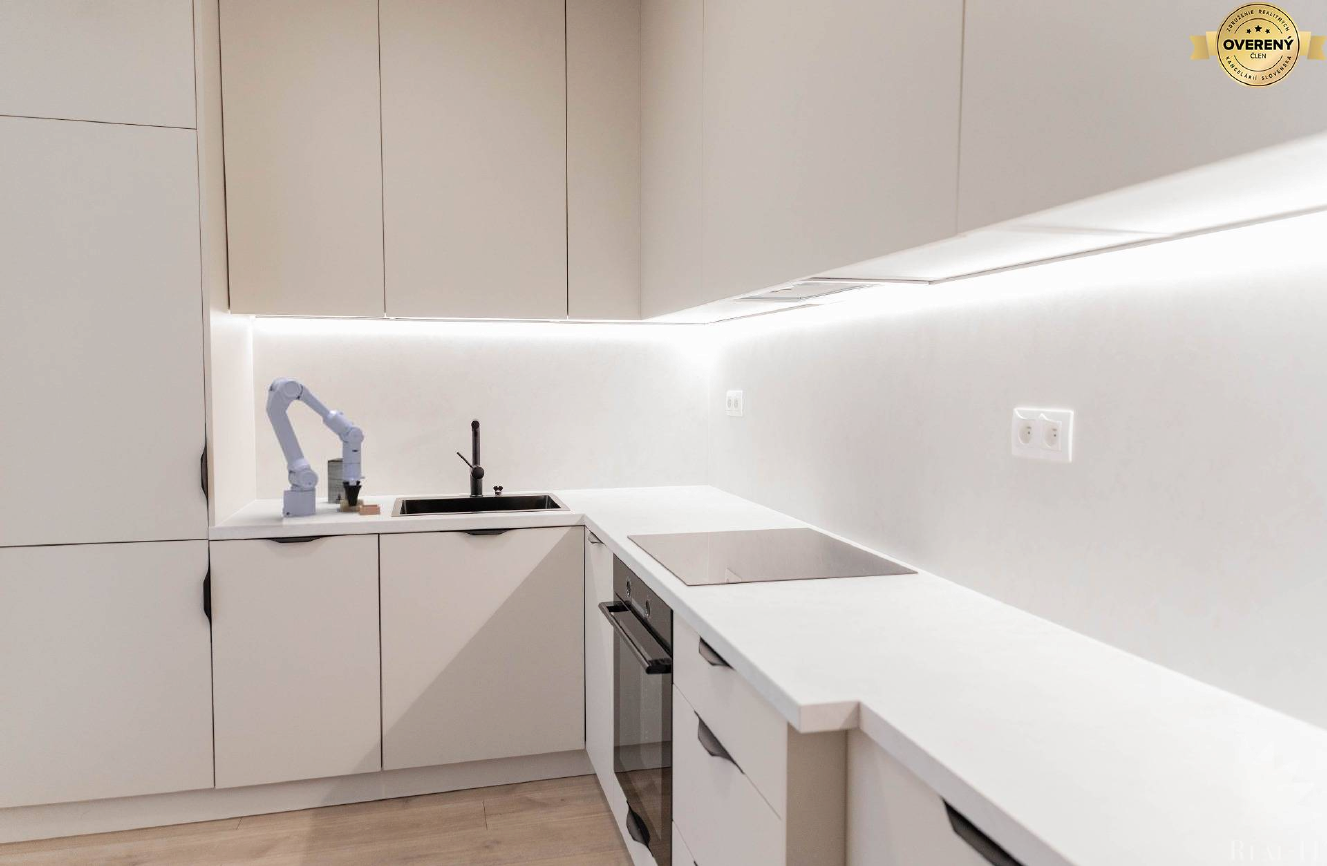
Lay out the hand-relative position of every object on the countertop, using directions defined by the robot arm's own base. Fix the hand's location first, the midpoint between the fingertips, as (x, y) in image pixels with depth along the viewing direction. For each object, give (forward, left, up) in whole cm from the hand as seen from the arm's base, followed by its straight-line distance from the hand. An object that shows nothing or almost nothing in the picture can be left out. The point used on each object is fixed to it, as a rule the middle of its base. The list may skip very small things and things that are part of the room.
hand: (352, 504), depth 267 cm
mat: (0, 0, -3) cm, 3 cm away
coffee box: (-3, +19, -3) cm, 19 cm away
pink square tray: (+5, -9, -3) cm, 10 cm away
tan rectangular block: (0, 0, -2) cm, 2 cm away
